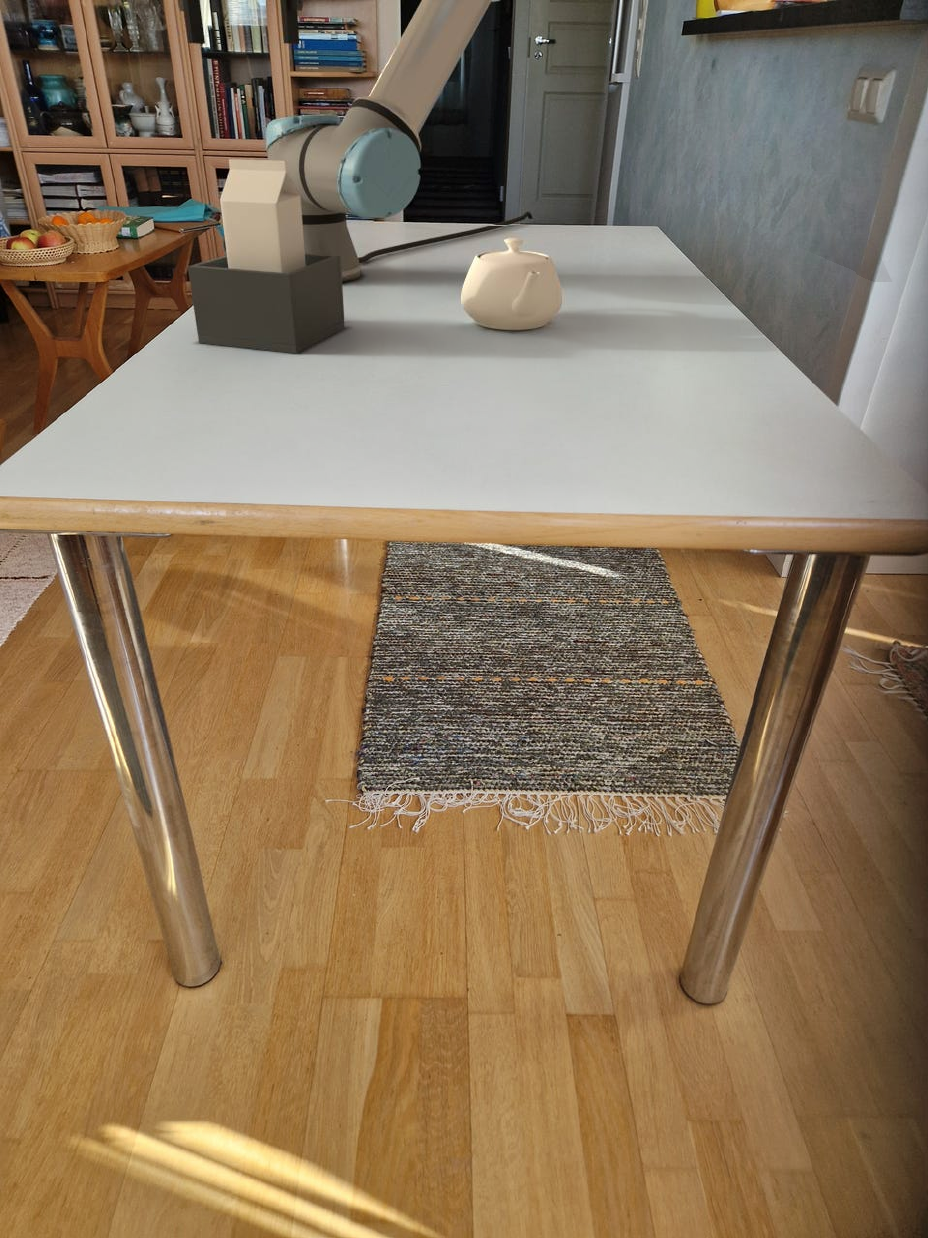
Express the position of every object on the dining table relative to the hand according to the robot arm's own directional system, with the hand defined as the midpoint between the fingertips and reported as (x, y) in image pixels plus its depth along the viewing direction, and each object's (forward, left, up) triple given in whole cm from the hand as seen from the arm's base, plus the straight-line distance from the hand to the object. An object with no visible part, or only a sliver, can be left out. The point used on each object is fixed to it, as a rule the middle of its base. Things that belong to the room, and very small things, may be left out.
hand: (243, 43), depth 108 cm
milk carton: (+15, +9, -31) cm, 36 cm away
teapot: (-2, +36, -32) cm, 48 cm away
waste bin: (+15, +9, -32) cm, 36 cm away
